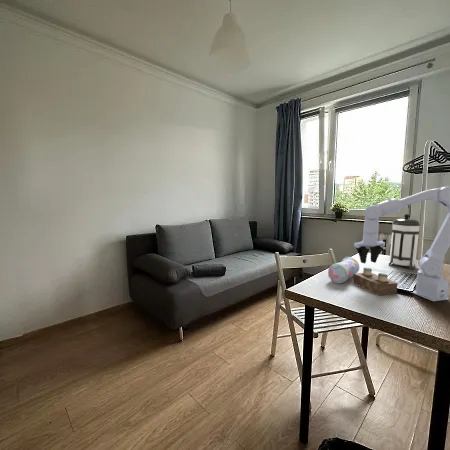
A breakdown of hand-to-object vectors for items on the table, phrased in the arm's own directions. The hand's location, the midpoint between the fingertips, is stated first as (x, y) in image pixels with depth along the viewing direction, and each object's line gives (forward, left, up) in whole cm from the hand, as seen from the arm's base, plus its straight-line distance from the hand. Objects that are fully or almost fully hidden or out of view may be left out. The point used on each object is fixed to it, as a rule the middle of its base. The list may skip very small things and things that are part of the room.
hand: (368, 262), depth 107 cm
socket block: (-4, 0, -10) cm, 11 cm away
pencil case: (+9, +4, -11) cm, 15 cm away
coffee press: (+19, -42, -11) cm, 47 cm away
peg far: (0, 0, -7) cm, 7 cm away
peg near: (-8, 0, -7) cm, 11 cm away
